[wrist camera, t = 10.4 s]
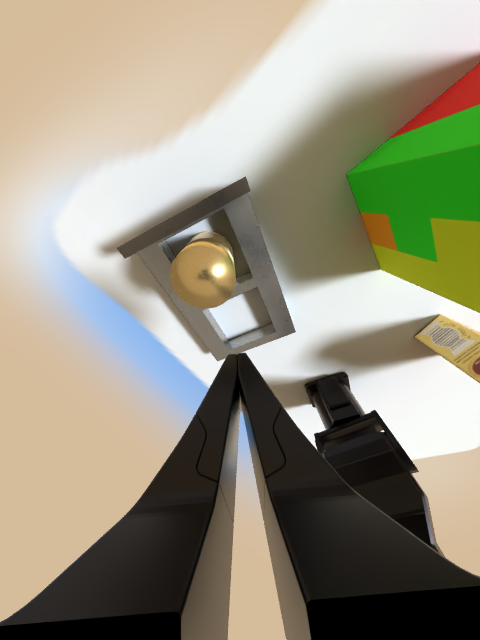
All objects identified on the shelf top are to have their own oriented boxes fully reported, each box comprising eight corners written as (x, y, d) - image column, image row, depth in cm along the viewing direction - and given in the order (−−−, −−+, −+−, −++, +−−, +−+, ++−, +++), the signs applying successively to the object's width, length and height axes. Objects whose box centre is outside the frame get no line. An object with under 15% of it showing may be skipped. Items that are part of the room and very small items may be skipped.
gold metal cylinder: (241, 266, 18) (246, 293, 13) (203, 285, 19) (194, 316, 14) (219, 221, 16) (215, 232, 11) (177, 245, 17) (155, 265, 12)
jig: (291, 323, 22) (301, 343, 19) (217, 351, 24) (216, 374, 21) (241, 181, 14) (245, 176, 11) (138, 239, 16) (116, 248, 13)
